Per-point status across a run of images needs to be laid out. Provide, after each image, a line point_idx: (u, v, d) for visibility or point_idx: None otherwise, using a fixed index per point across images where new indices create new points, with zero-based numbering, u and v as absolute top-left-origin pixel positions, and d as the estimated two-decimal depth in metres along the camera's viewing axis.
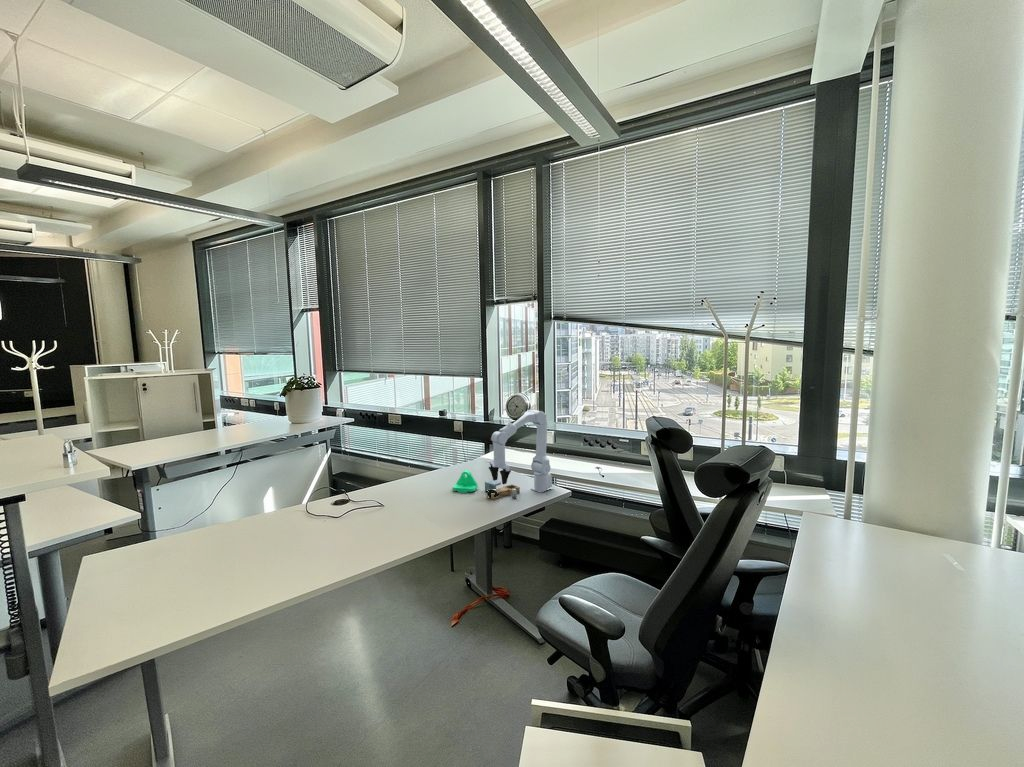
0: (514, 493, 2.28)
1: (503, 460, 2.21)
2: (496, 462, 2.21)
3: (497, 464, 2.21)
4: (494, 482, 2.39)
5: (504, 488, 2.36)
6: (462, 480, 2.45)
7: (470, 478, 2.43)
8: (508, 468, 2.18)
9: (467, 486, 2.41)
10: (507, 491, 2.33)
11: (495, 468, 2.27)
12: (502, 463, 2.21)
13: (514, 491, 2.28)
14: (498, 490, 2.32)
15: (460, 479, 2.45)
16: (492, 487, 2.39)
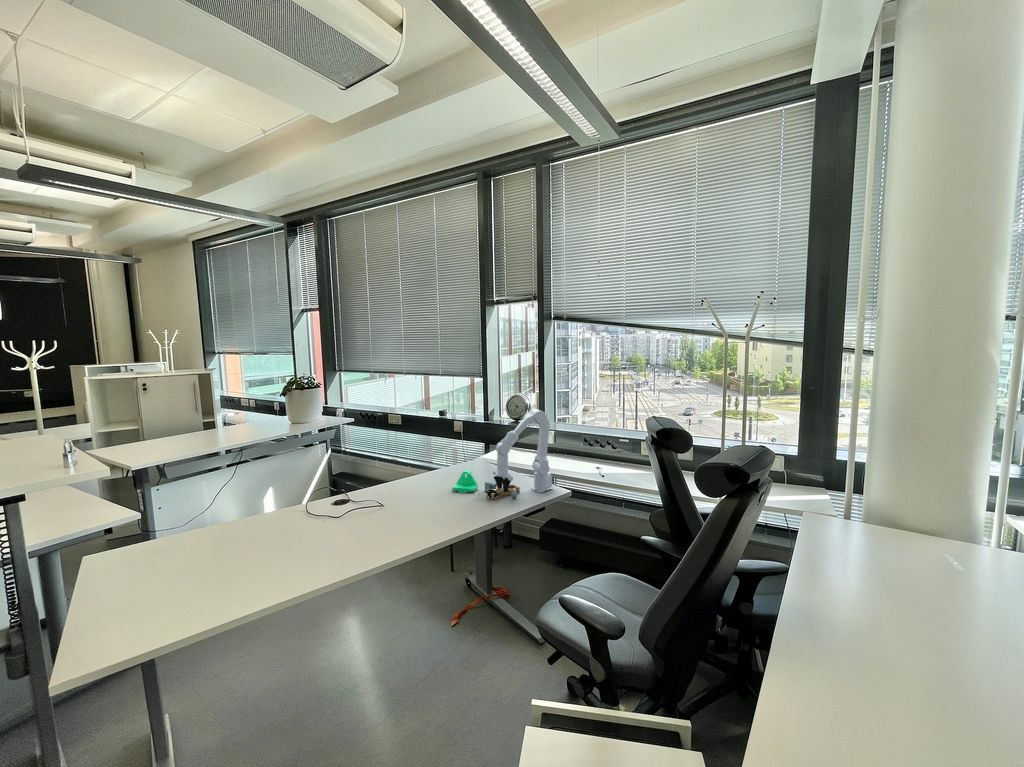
0: (514, 493, 2.28)
1: (506, 470, 2.31)
2: (499, 472, 2.31)
3: (500, 473, 2.31)
4: (494, 482, 2.39)
5: None
6: (462, 480, 2.45)
7: (470, 478, 2.44)
8: (511, 478, 2.28)
9: (467, 486, 2.41)
10: None
11: (500, 478, 2.36)
12: (505, 473, 2.31)
13: (514, 491, 2.28)
14: (498, 490, 2.32)
15: (460, 479, 2.45)
16: (492, 487, 2.39)
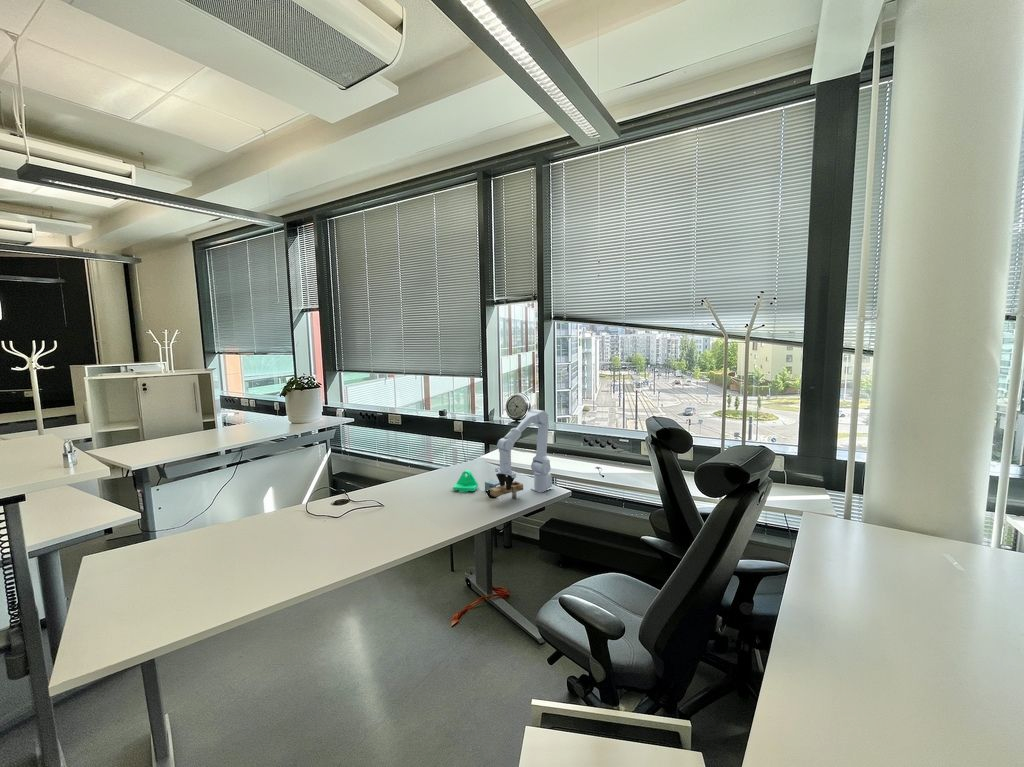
0: (514, 493, 2.28)
1: (509, 467, 2.23)
2: (502, 469, 2.22)
3: (503, 471, 2.22)
4: (494, 482, 2.39)
5: None
6: (462, 480, 2.45)
7: (470, 478, 2.44)
8: (514, 475, 2.19)
9: (468, 486, 2.42)
10: None
11: (502, 475, 2.27)
12: (508, 470, 2.22)
13: None
14: (501, 487, 2.24)
15: (460, 479, 2.46)
16: (492, 487, 2.39)
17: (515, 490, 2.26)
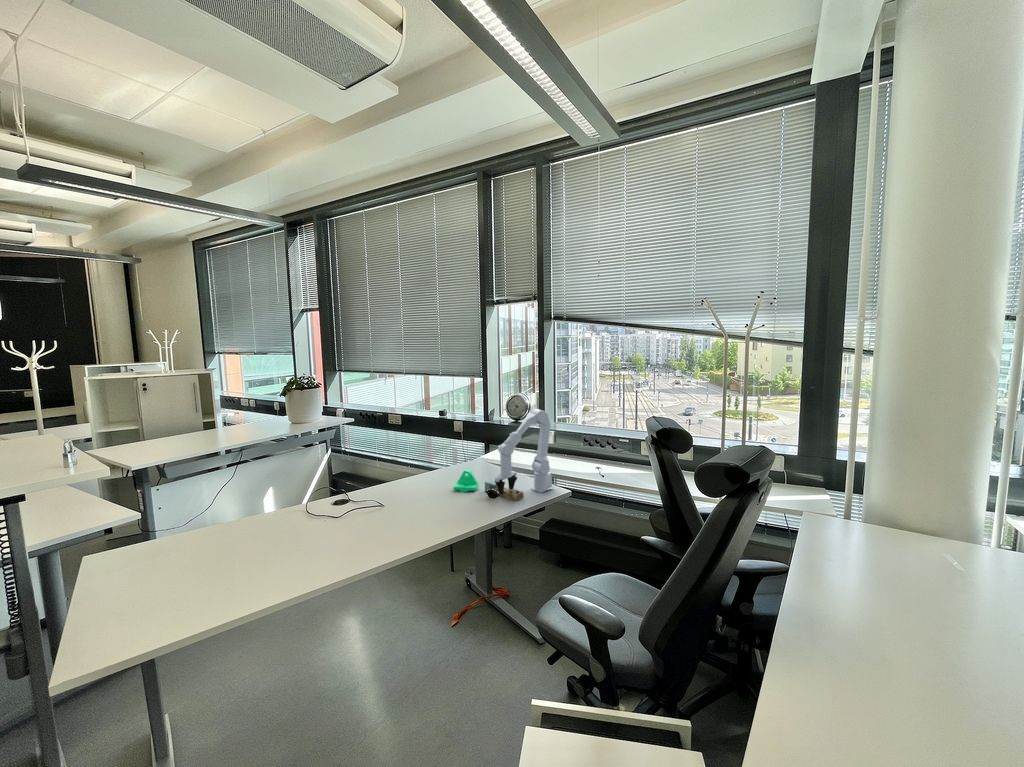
0: (514, 493, 2.28)
1: (503, 471, 2.30)
2: None
3: (500, 473, 2.33)
4: (494, 482, 2.39)
5: (510, 490, 2.33)
6: (463, 479, 2.46)
7: (471, 477, 2.45)
8: (496, 479, 2.27)
9: (468, 485, 2.43)
10: (505, 493, 2.31)
11: (511, 479, 2.35)
12: (502, 474, 2.30)
13: (514, 491, 2.28)
14: None
15: (461, 478, 2.46)
16: (492, 487, 2.39)
17: (507, 497, 2.28)
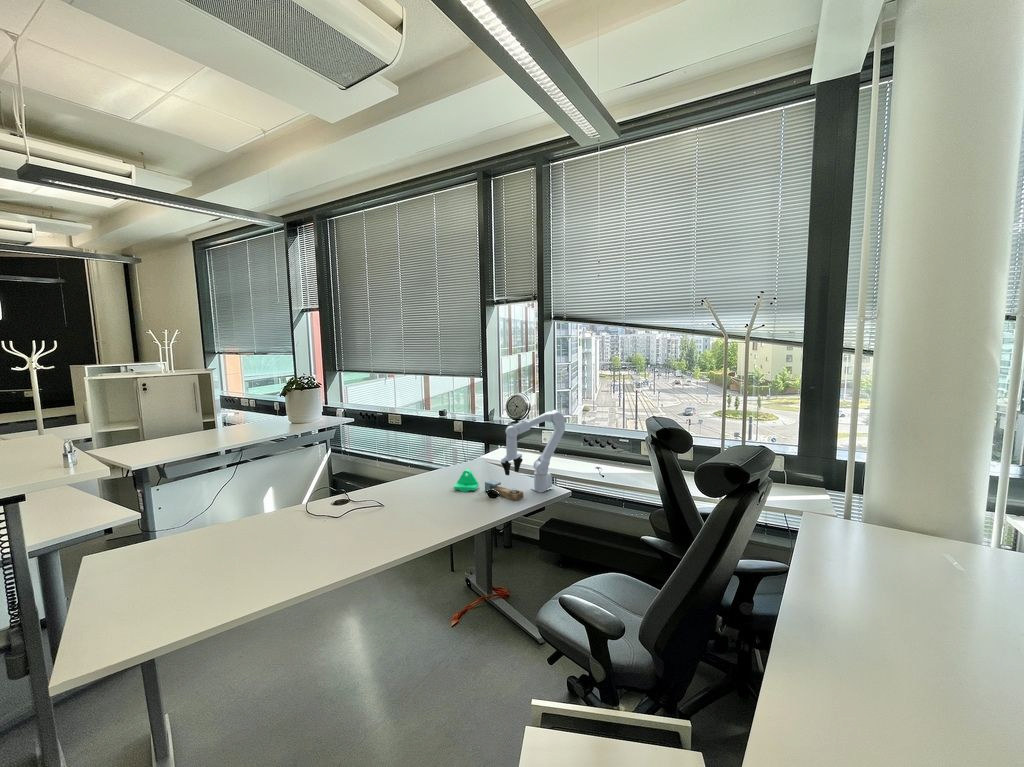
0: (514, 493, 2.28)
1: (508, 453, 2.35)
2: None
3: (506, 455, 2.38)
4: (494, 482, 2.39)
5: (510, 490, 2.33)
6: (463, 479, 2.46)
7: (471, 477, 2.45)
8: (502, 460, 2.33)
9: (468, 485, 2.43)
10: (505, 493, 2.31)
11: (516, 460, 2.41)
12: (508, 455, 2.36)
13: (514, 491, 2.28)
14: (501, 488, 2.35)
15: (461, 478, 2.47)
16: (492, 487, 2.39)
17: (507, 497, 2.28)
